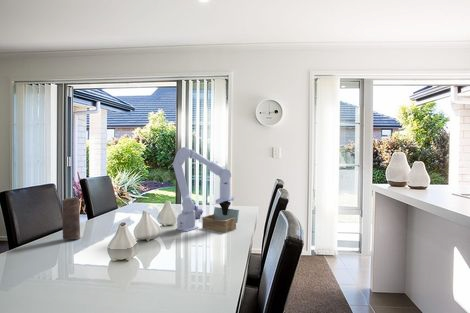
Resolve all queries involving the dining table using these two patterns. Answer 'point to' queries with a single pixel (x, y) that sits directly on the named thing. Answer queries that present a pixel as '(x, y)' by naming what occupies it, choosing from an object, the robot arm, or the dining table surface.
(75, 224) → the candle
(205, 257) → the dining table surface
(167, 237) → the dining table surface
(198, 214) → the flower
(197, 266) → the dining table surface
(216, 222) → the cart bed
